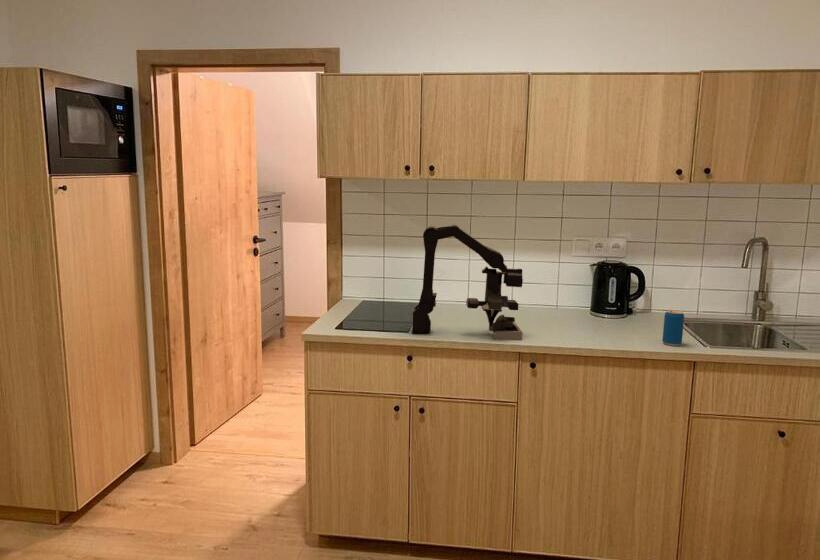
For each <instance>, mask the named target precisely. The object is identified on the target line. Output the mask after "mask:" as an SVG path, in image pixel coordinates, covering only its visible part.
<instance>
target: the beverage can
mask: <svg viewBox="0 0 820 560" xmlns="http://www.w3.org/2000/svg"><path fill="white" fill-rule="evenodd" d="M663 317H664V318H663V328H662V329H663V330H662V342H663V343H664V344H665V346H671V347H679V346H680V345H681V344H682V343H683V334H684V322H685V315H684V312H683V311H682V310H678V309H666V312H665V313H664V316H663Z"/></svg>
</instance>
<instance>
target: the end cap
mask: <svg viewBox="0 0 820 560" xmlns="http://www.w3.org/2000/svg"><path fill="white" fill-rule="evenodd" d="M495 319H496V320H494V322H495V323H494V325H493V333H494V334H495V331H514V325H513V323H516V318H515V317H513V316H505V314H500V315H499V316H498V317H497V318H495Z"/></svg>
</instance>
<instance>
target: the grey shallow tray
mask: <svg viewBox="0 0 820 560" xmlns="http://www.w3.org/2000/svg"><path fill="white" fill-rule="evenodd" d="M494 323H495V321H494V322H493V324H492V326H491V327H490V326H489V325H488V331H493V325H494ZM513 325H514V331H495V333H494V335H493V336H494V337H493V338H494V340H496V341H501V340H502V341H503V340H504V341H507V340H508V341H522V340H523V330H522V329H521V328H520V327H519V325H517V322H513ZM493 332H494V331H493Z"/></svg>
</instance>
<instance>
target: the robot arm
mask: <svg viewBox="0 0 820 560" xmlns="http://www.w3.org/2000/svg"><path fill="white" fill-rule="evenodd" d="M422 237H423V238H422V239H423V246H424V247H423V248H424V264H423V265H424V266H423V279H422V280H423V281H422V289H421V294H420V296H419V297H420V298H419V301H418V304H417V305H416V306H415V307H414V308H413V311H412V317H411V318H412V320H411V321H412V322H411V334H414V335H421V334H423V335H425V334H426V335H428V334H429V335H430V332H431V331H432V330H431V329H432V319H430V316H429V314H431V313H432V312H433V311H434V307H435V308H436V305H437V300H436V299H437V296H438V295H437V293H438V292H434V290H433V287H434V286H433V285H434V275H435V272H434V271H435V260H436V259H435V258H436V250H437V245H438V243H439V240H443V239H448V238H452V237H453V238H455V239H456V240H457V241H459V242H460V243H462V244H463V245H465V246H466V247H467V248H469V249H470V250H472V251H474V252H475V254H478V255H479V256H480V258H482V260H484V261H485V263H486V264H487V265H488V266H489V267H490V268H489V267H488V266H487V265H486V266H484V268H483V269H481V274H486V277H485V278H486V279H485V289H484V291H485V292H484V300H479V299H478V298H477V297H468V298H466V303H465V306H466V307H467V308H468V309H478V308H479V307H481V309H482V311H483V312H485V314H486V317H487V321H488V327H489V326H490V327H491V326H492V324H493V322H495V319H496V317H497V316H498V314H499V313H501V312H503V310H502V308H508V310H509V311H519V305H520V304H519V303H518V302H517V301H516V300H515V299H509V296H508V295H502V283H503V284H505V286H506V287H508V288H509V287H511V288H522V287H523V283H524V281H523V280H524V278H523V269H522V268H508V266H507V265H506V263H505V260H504V256H503V254H502V253H501V252H500V251H498V250H495V249H494V248H491V247H489V246H486V245H485V244H483V243H481V242H480V241H478V240H477V238H475V237H473V236H471V235H470V234H468V233H467V232H466V231H465V230H463V229H462V228H460V227H459V226H458V225H457V224H452V225H449V226H441V227H436V226H432V225H431V226H427V227H426V228H425V230H424V232H423V236H422ZM497 269H498V270H499V271H497Z"/></svg>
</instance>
